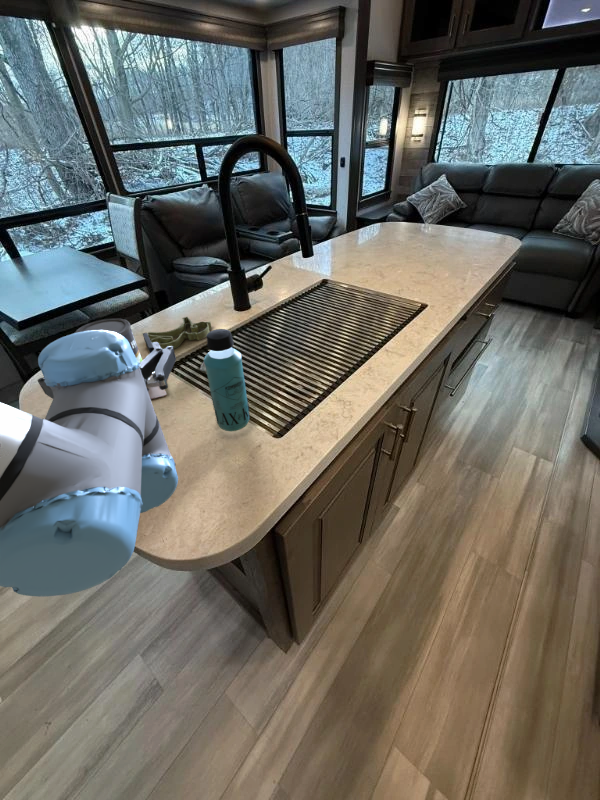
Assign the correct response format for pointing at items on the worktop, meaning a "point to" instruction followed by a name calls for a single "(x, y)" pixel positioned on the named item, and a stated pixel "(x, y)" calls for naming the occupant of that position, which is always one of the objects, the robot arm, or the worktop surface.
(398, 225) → the worktop surface
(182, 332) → the cookie cutter
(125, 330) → the coffee can
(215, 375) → the beverage bottle
